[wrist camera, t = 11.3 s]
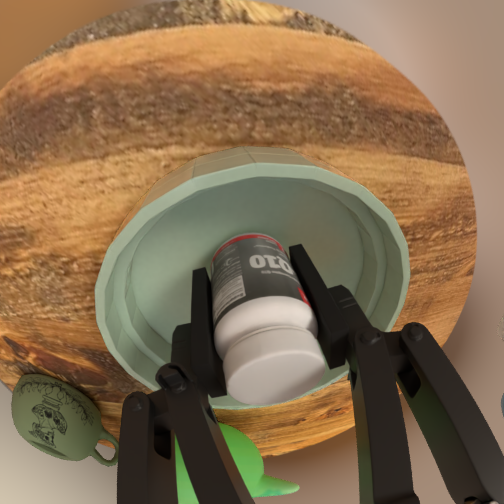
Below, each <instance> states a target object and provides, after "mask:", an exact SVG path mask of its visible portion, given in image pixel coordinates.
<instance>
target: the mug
mask: <svg viewBox="0 0 504 504" xmlns="http://www.w3.org/2000/svg"><path fill="white" fill-rule="evenodd" d="M11 407H12V417H13V421H14V425H15V427H16V429H17V431H18V433H19V434H20V435H21V436H22V437H23V438H24V439H25V440H26V441H27V442H29V443H30V444H31V445H32V446H34V447H35V448H37V449H39V450H41V451H43V452H45V453H47V454H49V455H51V456H54V457H57V458H60V459H64V460H71V461H80V460H83V459H85V458H86V457H88V456H92V457H94V458H95V459H96V460H97V461H98V462H99V463H101V464H103V465H106V466H108V467H109V466H113V465H116V463H117V462H118V451H119V442H118V441H117V440H116V438H115V437H114V436H113V435H112V434H110V433H109V432H108V431H107V430H106V429H105V428H104V427H103V425H102V424H101V413H100V412H99V410H98V409H97V408H96V406H95V405H94V404H93V402H92V401H91V400H90V399H89V398H88V397H87V396H85V395H84V394H83V393H81V392H80V391H79V390H77V389H75V388H74V387H72V386H70V385H68V384H67V383H65V382H63V381H60V380H58V379H55V378H53V377H50V376H46V375H42V374H29V375H22V376H21V378H20V380H19V381H18V383H17V384H16V386H15V388H14V390H13V395H12V404H11ZM101 439H106V440H109V441H110V442H112V444H113V445H114V446H115V450H116V452H115V455H114V457H113V458H112V460H106V459H104V458H103V457H102V456H101V455H100V454H99V453H98V451H97V450H96V449H95V446H96V445H97V442H98V440H101Z"/></svg>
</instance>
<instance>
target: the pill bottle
mask: <svg viewBox="0 0 504 504" xmlns="http://www.w3.org/2000/svg"><path fill="white" fill-rule="evenodd" d="M210 274H211V297H212V316H213V336H214V344H215V348H216V351H217V353H218V355H219V357H220V358H221V359H222V360H223V371H224V375H225V382H226V388H227V391H228V393H229V394H230V396H231V397H233V398H234V399H235V400H237V401H239V402H242V403H245V404H250V405H272V404H277V403H282V402H286V401H289V400H291V399H294V398H296V397H299V396H301V395H303V394H304V393H306V392H308V391H309V390H310V389H312V388H313V387H314V386H316V385H317V384H318V382H319V381H320V380H321V379H322V377H323V375H324V373H325V368H326V367H325V362H324V359H323V356H322V354H321V351H320V348H319V346H318V343H317V340H316V339H317V335H318V322H317V319H316V315H315V313H314V311H313V309H312V306H311V304H310V302H309V300H308V298H307V296H306V293H305V291H304V289H303V287H302V285H301V283H300V281H299V279H298V276H297V274H296V272H295V270H294V268H293V266H292V264H291V262H290V259H289V257H288V255H287V253H286V251H285V249H284V248H283V247H282V245H281V244H280V243H279V242H278V241H277V240H275V239H274V238H272V237H270V236H268V235H266V234H262V233H253V232H252V233H243V234H239V235H237V236H234V237H232V238H230V239H229V240H227V241H226V242H224V243H223V244H222V245H221V246H220V247H219V248H218V249H217V251H216V252H215V254H214V256H213V258H212V261H211V268H210Z"/></svg>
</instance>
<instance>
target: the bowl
mask: <svg viewBox="0 0 504 504" xmlns="http://www.w3.org/2000/svg"><path fill="white" fill-rule="evenodd" d="M252 232H253V233H262V234H266V235H268V236H270V237H272V238H274V239H275V240H277V241H278V242H279V243H280V244H281V245H282V247H283V248H284V249H285V251H286V253H287V255H288V257H289V259H290V254H289V246H293V245H297V244H302V245H303V247H304V249H305V250H306V252H307V254H308V255H309V257H310V259H311V260H312V262H313V264H314V266H315V267H316V269H317V271H318V272H319V274H320V276H321V277H322V279H323V281H324V283H325V284H326V286H327V288H331V287H334V286H338V285H343V286H344V287H346V288H347V289H349V290H350V292H351V293H352V295H353V296H354V298H355V300H356V301H357V303H358V304H359V306H360V307H361V309H362V311H363V312H364V314H365V315H366V317H367V319H368V320H369V322H370V323H371V325H372V326H373V327H376V328H378V329H379V330H380V331H383V332H390V331H391V329H392V327H393V325H394V324H395V322H396V320H397V318H398V316H399V314H400V312H401V310H402V308H403V306H404V303H405V299H406V294H407V290H408V285H409V280H410V263H409V252H408V245H407V242H406V239H405V237H404V235H403V233H402V231H401V229H400V227H399V225H398V222H397V220H396V218H395V216H394V214H393V213H392V212H391V211H390V210H389V209H388V208H387V207H386V206H385V205H384V204H383V203H382V202H381V201H380V200H379V199H378V198H377V197H375V196H374V195H373V194H372V193H371V192H370V191H369V190H368V189H367V188H366V187H364V186H363V185H362V184H360V183H359V182H357V181H355V180H354V179H352V178H351V177H349V176H348V175H346V174H344V173H343V172H341V171H339V170H338V169H336V168H335V167H333V166H331V165H330V164H328V163H326V162H323V161H321V160H318V159H316V158H313V157H310V156H308V155H305V154H303V153H300V152H297V151H294V150H292V149H288V148H274V147H257V146H240V147H236V148H231V149H227V150H223V151H219V152H215V153H211V154H207V155H203V156H199V157H196V158H194V159H192V160H191V161H189V162H187V163H185V164H184V165H182V166H180V167H179V168H177V169H175V170H174V171H172V172H170V173H169V174H167V175H165V176H164V177H162V178H161V179H159V180H157V181H156V182H155V183H154V184H153V185H152V186H151V187H150V189H149V190H148V191H147V192H146V193H145V194H144V195H143V196H142V198H141V199H140V200H139V201H138V202H137V203H136V204H135V206H134V207H133V208H132V209H131V210H130V212H129V213H128V215H127V216H126V218H125V219H124V221H123V223H122V224H121V226H120V228H119V230H118V231H117V233H116V235H115V237H114V238H113V240H112V242H111V244H110V245H109V247H108V249H107V251H106V254H105V257H104V260H103V263H102V266H101V269H100V272H99V275H98V278H97V281H96V284H95V310H96V321H97V325H98V327H99V330H100V332H101V335H102V337H103V339H104V342H105V344H106V346H107V348H108V350H109V352H110V353H111V354H112V355H113V356H114V358H115V359H116V360H117V361H118V362H119V364H120V365H121V366H122V367H123V368H124V369H125V370H126V372H127V373H128V374H130V375H131V376H133V377H134V378H135V379H137V380H138V381H139V382H141V383H142V384H144V385H145V386H147V387H148V388H150V389H151V390H153V391H157V390H159V389H161V386H160V385H159V384H158V383H157V382H156V381H155V375H156V373H157V371H158V369H159V368H160V367H161V366H163V365H165V364H167V363H171V351H172V349H171V347H172V334H173V332H174V330H175V328H176V326H177V325H182V324H187V323H191V293H192V270H195V269H199V268H203V267H206V270H207V273H208V276H209V279H210V281H211V274H210V268H211V261H212V258H213V256H214V254H215V252H216V251H217V249H218V248H219V247H220V246H221V245H222V244H223V243H224V242H226V241H227V240H229V239H230V238H232V237H234V236H237V235H239V234H243V233H252ZM290 262H291V261H290ZM316 340H317V339H316ZM317 343H318V346H319V348H320V351H321V354H322V356H323V359H324V362H325V367H326V368H325V373H324V375H323V377H322V379H321V380H320V381H319V382H318V384H317V385H316V386H314V387H313V388H312V389H310V390H309V391H308V392H306V393H304V394H303V395H301V396H299V397H296V398H294V399H291V400H289V401H293V400H296V399H299V398H301V397H304V396H306V395H309V394H311V393H314V392H316V391H318V390H321V389H323V388H325V387H327V386H329V385H330V384H332V383H334V382H335V381H337V380H339V379H340V378H342V377H343V376H345V375H347V374H348V373H349V367H350V366H349V364H348V362H347V360H346V363H345V365H343V366H340V367H337V368H334V369H331V370H330V369H329V367H328V364H327V362H326V359H325V357H324V355H323V352H322V350H321V347H320V345H319V342H318V340H317ZM208 398H209V403H210V405H211V406H212V408H214V409H233V410H238V409H250V408H260V407H267V406H268V407H269V406H273V405H277V404H281V403H277V404H272V405H250V404H245V403H242V402H239V401H237V400H235V399H234V398H233V397H231V396H230V394H229V393H228V391H227V396H222V397H216V398H211V397H210V395H209V394H208ZM289 401H286V402H289ZM282 403H285V402H282Z"/></svg>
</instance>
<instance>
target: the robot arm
mask: <svg viewBox="0 0 504 504" xmlns="http://www.w3.org/2000/svg"><path fill="white" fill-rule="evenodd" d="M289 254H290V261H291V264H292V266H293V268H294V270H295V272H296V274H297V276H298V279H299V281H300V283H301V285H302V287H303V289H304V291H305V293H306V296H307V298H308V300H309V302H310V304H311V306H312V309H313V311H314V313H315V315H316V319H317V322H318V335H317V340H318V342H319V345H320V347H321V350H322V352H323V355H324V357H325V359H326V362H327V364H328V367H329V369H330V370H331V369H334V368H337V367H340V366H343V365H345V363H346V360H347V362H348V364H349V366H350V367H349V373H348V380H350V384H351V391H352V400H353V408H354V417H355V427H356V438H357V449H358V450H357V451H358V466H359V492H360V504H420V501H419V498H418V497H417V495H416V494H415V493H414V490H413V481H412V471H411V462H410V454H409V447H408V441H407V434H406V429H405V423H404V418H403V412H402V407H401V402H400V398H399V393H398V389H397V384H398V385H399V387H400V389H401V391H402V393H403V395H404V397H405V399H406V401H407V403H408V405H409V407H410V408H411V410H412V413H413V414H414V417H415V419H416V421H417V422H418V425H419V427H420V429H421V431H422V433H423V435H424V437H425V439H426V441H427V444H428V446H429V448H430V450H431V452H432V454H433V457H434V459H435V461H436V463H437V466H438V468H439V470H440V473H441V475H442V477H443V480H444V482H445V485H446V487H447V490H448V492H449V494H450V495H451V497H452V499H453V500H454V502H455V503H456V504H504V456H503V454H502V451H501V449H500V447H499V445H498V443H497V441H496V439H495V437H494V435H493V433H492V431H491V429H490V427H489V426H488V424H487V422H486V420H485V418H484V416H483V414H482V413H481V411H480V409H479V407H478V406H477V404H476V402H475V401H474V399H473V397H472V396H471V394H470V392H469V391H468V389H467V387H466V385H465V384H464V382H463V381H462V379H461V378H460V376H459V374H458V373H457V372H456V370H455V368H454V367H453V365H452V364H451V362H450V361H449V359H448V358H447V356H446V355H445V353H444V352H443V350H442V349H441V348H440V346H439V345H438V343H437V342H436V340H435V339H434V338H433V336H432V335H431V333H430V332H429V331H428V329H427V328H426V327H425V326H424V325H422V324H420V323H416V322H412V323H408V324H406V325H405V326H404V327H403V329H402V330H401V331H396V332H383V331H380V330H379V329H378V328H376V327H373V326H372V325H371V323H370V322H369V320H368V319H367V317H366V315H365V314H364V312H363V311H362V309H361V307H360V306H359V304H358V303H357V301H356V300H355V298H354V296H353V295H352V293H351V292H350V290H349V289H347V288H346V287H344V286H343V285H338V286H334V287H331V288H327V286H326V284H325V283H324V281H323V279H322V277H321V276H320V274H319V272H318V271H317V269H316V267H315V266H314V264H313V262H312V260H311V259H310V257H309V255H308V254H307V252H306V250H305V249H304V247H303V245H302V244H297V245H293V246H289ZM171 349H172V351H171V363H167V364H165V365H163V366H161V367H160V368H159V369H158V371H157V373H156V375H155V381H156V382H157V383H158V384H159V385H160V386H161V389H159V390H157V391H155V392H152V393H150V394H148V395H146V394H145V393H143V392H139V391H136V392H132V393H131V394H129V395H128V396H127V397H126V398H125V400H124V403H123V408H122V417H121V427H120V438H119V451H118V469H117V470H118V472H117V504H178V492H177V476H176V455H175V435H176V439H177V442H178V445H179V449H180V452H181V455H182V458H183V461H184V464H185V467H186V470H187V473H188V476H189V479H190V481H191V484H192V487H193V489H194V492H195V495H196V497H197V500H198V502H199V504H255V502H254V500H253V499H252V497H251V495H250V493H249V491H248V489H247V487H246V485H245V482H244V480H243V478H242V476H241V474H240V472H239V470H238V468H237V466H236V463H235V461H234V459H233V457H232V454H231V452H230V450H229V448H228V445H227V443H226V441H225V438H224V436H223V434H222V431H221V429H220V426H219V424H218V421H217V419H216V416H215V414H214V411H213V408H212V406H211V405H210V403H209V398H208V394H209V395H210V397H211V398H216V397H222V396H227V388H226V382H225V375H224V371H223V360H222V359H221V358H220V357H219V355H218V353H217V351H216V348H215V344H214V336H213V316H212V297H211V281H210V279H209V276H208V273H207V270H206V267H203V268H199V269H195V270H192V293H191V323H187V324H182V325H177V326H176V328H175V330H174V332H173V334H172V347H171ZM396 382H397V384H396ZM501 407H502V413H503V416H504V394H503V396H502V399H501Z"/></svg>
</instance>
